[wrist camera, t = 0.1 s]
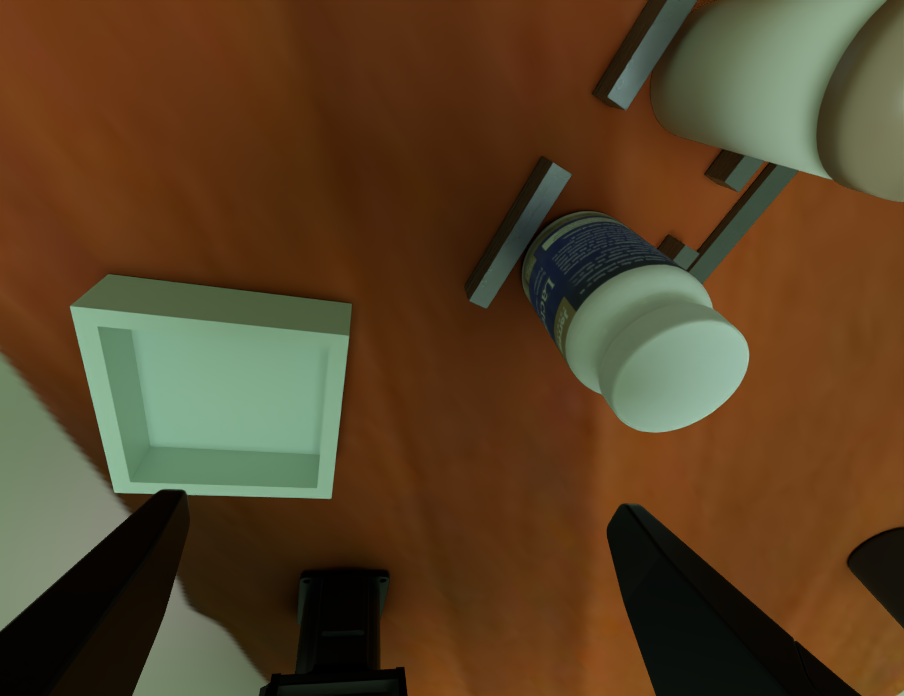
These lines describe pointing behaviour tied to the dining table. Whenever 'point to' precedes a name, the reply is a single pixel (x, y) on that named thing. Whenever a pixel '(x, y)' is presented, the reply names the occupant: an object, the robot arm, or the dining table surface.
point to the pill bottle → (632, 322)
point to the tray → (214, 387)
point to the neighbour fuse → (792, 86)
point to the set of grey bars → (618, 91)
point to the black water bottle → (883, 570)
